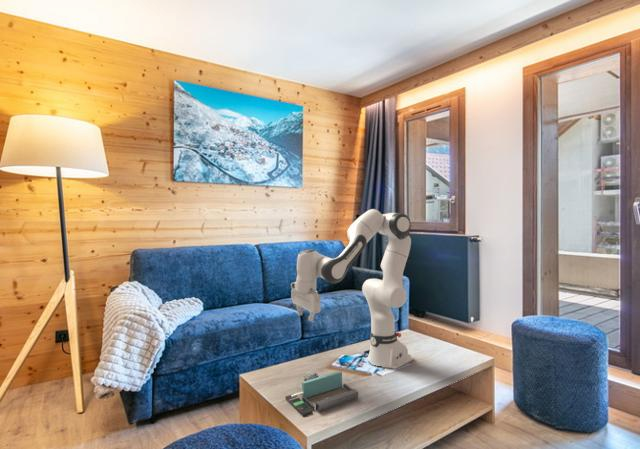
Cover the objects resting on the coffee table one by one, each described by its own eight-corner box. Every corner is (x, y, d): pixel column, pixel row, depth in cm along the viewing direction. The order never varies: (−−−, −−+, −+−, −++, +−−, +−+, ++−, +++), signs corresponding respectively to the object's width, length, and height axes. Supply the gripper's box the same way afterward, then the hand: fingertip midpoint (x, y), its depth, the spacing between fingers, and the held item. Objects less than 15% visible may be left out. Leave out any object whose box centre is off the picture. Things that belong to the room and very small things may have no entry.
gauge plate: (339, 384, 154) (339, 370, 153) (341, 386, 153) (341, 372, 152) (290, 400, 142) (290, 385, 141) (292, 402, 140) (292, 386, 140)
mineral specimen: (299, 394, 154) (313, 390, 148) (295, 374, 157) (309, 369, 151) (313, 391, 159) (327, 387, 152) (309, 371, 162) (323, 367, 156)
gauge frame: (338, 382, 157) (338, 375, 156) (360, 398, 144) (360, 390, 144) (285, 399, 143) (285, 391, 143) (304, 418, 131) (304, 409, 130)
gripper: (325, 290, 154) (324, 323, 154) (301, 281, 171) (300, 311, 172) (312, 292, 151) (311, 325, 151) (289, 282, 168) (288, 312, 168)
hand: (305, 317), depth 162 cm, fingers open, 8 cm apart
